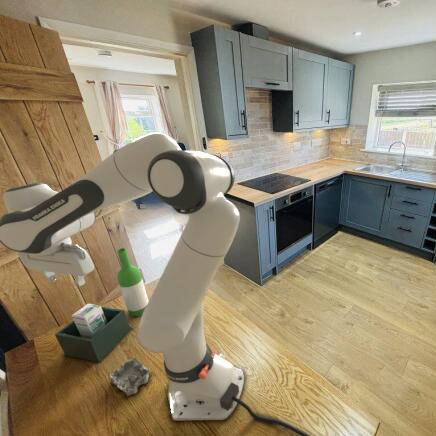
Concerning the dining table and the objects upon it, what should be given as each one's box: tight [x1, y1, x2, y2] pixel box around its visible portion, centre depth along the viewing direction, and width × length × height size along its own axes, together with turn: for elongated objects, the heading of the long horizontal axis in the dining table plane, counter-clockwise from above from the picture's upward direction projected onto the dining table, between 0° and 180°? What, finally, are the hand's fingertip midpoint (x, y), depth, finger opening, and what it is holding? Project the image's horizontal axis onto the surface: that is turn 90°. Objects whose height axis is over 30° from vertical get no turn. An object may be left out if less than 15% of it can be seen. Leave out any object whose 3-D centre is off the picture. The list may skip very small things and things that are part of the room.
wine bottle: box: [116, 247, 149, 317], centre depth 95 cm, size 8×8×30 cm
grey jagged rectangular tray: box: [107, 357, 150, 397], centre depth 74 cm, size 11×8×4 cm
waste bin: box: [54, 306, 132, 363], centre depth 85 cm, size 14×14×10 cm
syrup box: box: [71, 303, 108, 339], centre depth 84 cm, size 6×6×14 cm
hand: (67, 282), depth 71 cm, fingers open, 8 cm apart
